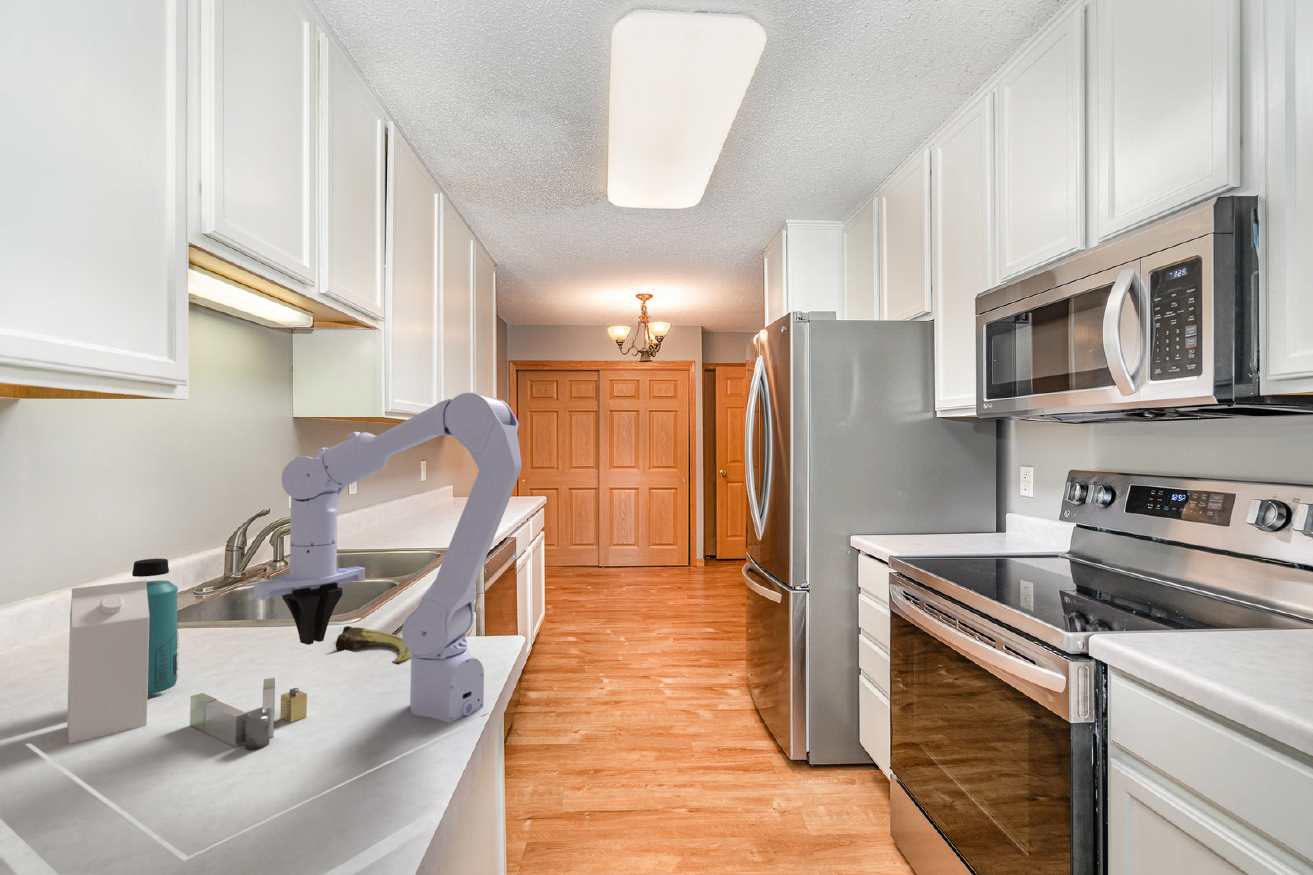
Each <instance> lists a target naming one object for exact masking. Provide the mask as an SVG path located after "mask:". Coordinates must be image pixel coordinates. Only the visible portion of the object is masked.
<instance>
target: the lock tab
mask: <svg viewBox="0 0 1313 875" xmlns="http://www.w3.org/2000/svg"><path fill="white" fill-rule="evenodd" d="M307 700H308V693H306V692H303V691H300V690H299V688H298V687H295V688H290V689H289V692H286V693H285V692H284V693H283V694H281V695H280V714H279V715H280V719H281V720H284V721H285V722H289V723H293V722H297V721H299V720H302V719H304V718H307V711H308V709H307V704H308V701H307Z"/></svg>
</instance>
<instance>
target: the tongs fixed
mask: <svg viewBox="0 0 1313 875" xmlns="http://www.w3.org/2000/svg"><path fill="white" fill-rule="evenodd" d="M189 705H190V710H189V711H190V712H189V725H190V727H193V728H194V729H196V730H199V731H201V732H203V733H206V734H208V735H210V736H211V737H214V738H216V739H217V740H220V741H221V742H224V743H226V744H228V745H230V746H232V747H234V748H237V747H240V746H243V745H244V749H245V750H246V751H258V750H261V749H265V748H266V747H267V746H269V745H270V737H269V736H270V714H269V713H266V712H257V713H253V714H250V715H248V713H247V712H245V711H243V710H241V709H239V708H236V707H234V706H231V705H229V704H227V703H224V702H222V701H220V700H217V698H215V697H213V696H211V695H208V694H206V693H205V692H201V693H198V694H195V695H191V696H190V704H189Z"/></svg>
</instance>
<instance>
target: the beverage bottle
mask: <svg viewBox="0 0 1313 875" xmlns="http://www.w3.org/2000/svg"><path fill="white" fill-rule="evenodd" d="M169 573H170V568H169V560H168V559H167V558H147V559H140V560H136V561H135V562H134V563H133V569H132V573H131V574H132V575H131V576H132V577H137V578H138V577H139V578H142V577H143V578H144V577H155V576H163V575H166V574H167V575H168V574H169ZM178 591H179V588H178V586H177V585H175V584H174V583H172V582H171V581H170V580H150V581H148V580H147V597H148V607H149V653H148V695H147V696H149V695H153V694H158V693H161V692H165V691H166V690H170V689H172V688H173V687H174V686H176V683H177V680H178V678H179V674H178V671H179V668H178V667H179V659H178V656H179V653H180V652H179V651H178V649H179V641H180V640H179V631H178V630H179V627H178V621H179V618H178Z"/></svg>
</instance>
